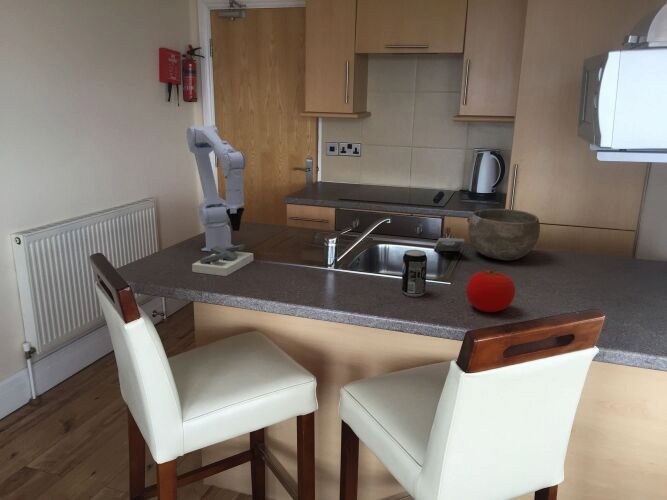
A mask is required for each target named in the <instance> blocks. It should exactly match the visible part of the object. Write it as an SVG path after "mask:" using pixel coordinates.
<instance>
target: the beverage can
mask: <svg viewBox="0 0 667 500" xmlns="http://www.w3.org/2000/svg"><path fill="white" fill-rule="evenodd" d="M427 267H428V256H427V253H426V251H424V250H420V249H407V250H405V251H404V253H403V255H402V270H401V271H402V272H401V273H402V274H401V292H402V293H403V294H404V295H405V296H406V297H417V298H418V297H421V296H423V295H424V294H425V293H426V287H427V286H426V285H427V269H428V268H427Z"/></svg>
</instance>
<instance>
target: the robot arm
mask: <svg viewBox="0 0 667 500" xmlns="http://www.w3.org/2000/svg"><path fill="white" fill-rule="evenodd" d="M187 127H188V128H187V129H186V130H187V131H186V139H187V145H188V148H189V152H190V153H193V156H194V158H195V162H196V163H195V164H196V166H197V171H198V175H199V180H200V184H201V189H202V190H201V191H202V194H203V198H204V199H203V200H202V201H201V202H200V203H199V204H198V219H199V222H200V224H201V225H203V226H204V231H205V232H204V233H205V234H204V235H205V246H204V247H203V248H201V251H202V252H203V251H204V252H210V251H211V248H213V247H215V246H218V247H221V248H226V247H231V246H234V244H232V234H231V230H232V232H239V231H240V228H241V223H242V217H243V213H244V212H245V207H244V206H245V201H244V200H245V199H244V197H245V196H244V194H245V193H244V176H243V175H244V173H243V172H244V171H243V170H245V168H246V163H247V161H246V157H245V156H246V155H245V154H244V153H243V152H244V151H236V150H235V148H234V147H232V146H231V144H230V143H229V142H228V141H227V140H222V139H221V137H220V135H219V129H218V128H217V126H216V125H214V124H213V125H189V126H187ZM212 152H213V153H214V155H215V156H216V158H217V159H219V161H220V165H221V168H222V174H223V176H224V185H225V186H224V187H225V199H224V198H221V196H219V193H218V190H217V189H218V188H217V185H216V180H215V175H214V171H213V167H212V162H211V157H210V153H212ZM229 222H230V225H231V227H230V226H229V225H228V223H229Z"/></svg>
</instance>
